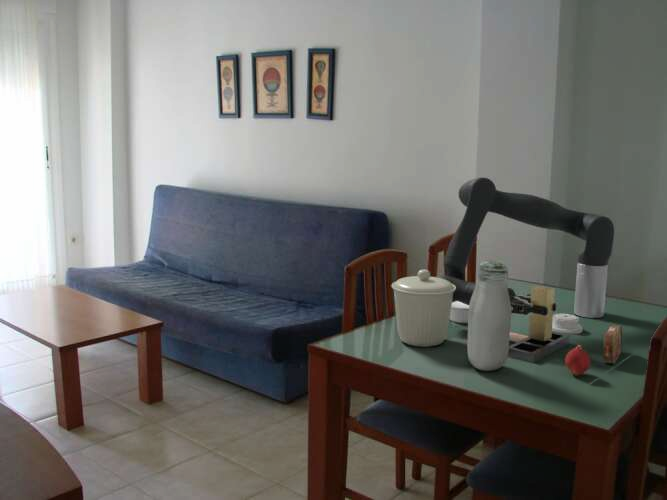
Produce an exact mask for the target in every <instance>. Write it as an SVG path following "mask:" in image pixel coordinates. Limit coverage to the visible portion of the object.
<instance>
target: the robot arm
mask: <svg viewBox="0 0 667 500" xmlns="http://www.w3.org/2000/svg"><path fill="white" fill-rule="evenodd" d="M458 199H459V201H460V202H461V204H462V205H463V206H465V207H466V210H465V213H464V215H463V217H462V219H461V222H460V224H459V225H458V227H457V229H456V230H455V232H454V234H453V237H452V238H451V240H450V242H449V244H448V248H447V250H446V253H445V256H444V259H443V267H444V268H445V270H446V274H445V275H439V276H436V277H437V278H442V279H445V280H447V281H449V282H451V283H452V284H453V285H455V286H456V290H455V291H454V292H453V299H452V302H455V301H459V302H462V303H464V304H466V305H469V304H470V300H471V297H472V294H473V292H474V289H475V285H476V281H475V282H474V281H468V280H467V281H466V280H465V279H466V268H467V266H468V262H469V260H470V256H471V254H472V251H473V247H474V244H475V242H476V239H477V236H478V234H479V231H480V229H481V227H482V224H484V223H483V222H484V220H485V218H486V216H487V214H488V213H492V214H493V213H494V214H497V215H499V216H500V215H501V216H502V217H506V218H508V219H511V220H514V221H518V222H520V223H523V224H527V225H529V226H534V227H537V228H541V229H544V230H545V229H546V230H557V231H561V232H564V233H567V234H569V235H572V236H573V237H574V236H575V237H577V238H578V239H581V240H583V241H584V242H585V247H584V250H583V252H580V253H579V254H578V255H577V266H576V278H575V279H576V280H575V281H576V282H575V289H574V290H575V294H574V306H573V315H575V316H576V315H577V316H579V317H583V318H592V319H597V318H599V319H600V318H602V317H604V314H605V304H606V303H605V302H606V291H607V279H608V270H609V269H608V267H609V259H610V258H611V256H612V252H613V245H614V238H615V225H614V223H613V221H612V220H611V219H610V218H609V217H608V216H604V215H601V214H597V213H588V212H582V211H578V210H572V209H568V208H566V207H564V206H562V205H560V204H559V203H556V202H554V201H551V200H549V199H546V198H543V197H541V196H537V195H534V194H533V195H532V194H528V193H518V192H508V191H507V192H506V191H501V190H497V188H496V185H495V183H494V181H492V180H491V179H490V178H488V177H477V178H473V179H471V180H468V181H466V182H465V183H463V184H462V185H461V186H460V188H459V189H458ZM508 293H509V298H510V304H511V314H517V315H523V316H526V315H530V314H533V313H535V314H540V315H547V314H548V308H547V307H543V306H538V305H533V304H531V293H528V294H526V295H523V294H516V292H515V290H514V289H513V288H511V287H508ZM555 311H557V304H556V303H555V302H554V305H553V313H554V312H555Z"/></svg>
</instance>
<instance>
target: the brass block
mask: <svg viewBox="0 0 667 500" xmlns="http://www.w3.org/2000/svg"><path fill="white" fill-rule="evenodd" d="M555 290H556V289H555V287H551V286H550V287H549V286H544V285H536V286H534V287H532V288H531V289H530V295H531V304H533V305H538V306H543V307H547V308H548V314H547V315H540V314H535V313H533V314H529V326H528V327H529V328H528V336H529V338H532V339H536V340H541V341H546V340H548V339H550V338H551V337H552V332H553V331H552V322H553V315H554V312H553V305H554V303H555Z"/></svg>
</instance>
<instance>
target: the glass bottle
mask: <svg viewBox="0 0 667 500" xmlns="http://www.w3.org/2000/svg"><path fill="white" fill-rule="evenodd" d="M476 277H477V278H476V281H475V283H476V285H475V289H474V292H473V294H472V297H471V300H470V304H469V314H468V323H467V357H468V360H469V362H470V363H471V365H472V366H473V367H474V368H475V369H478V370H480V371H484V372H489V371H490V372H491V371H496V370H498V369H500V368H502V367H503V366H504V364H505V363H506V361H507V359H508V357H509V356H508V350H509V346H510V340H509V335H510V333H511V326H512V325H511V322H512V313H511V304H510V298H509V293H508V288H509V286H508V280H509V279H508V277H509V271H508V268H507V265H506V264H505V263H504V262H502V261H501V260H485V261H483V262H482V263H480V264H479V265H478V268H477V272H476Z"/></svg>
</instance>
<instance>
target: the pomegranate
mask: <svg viewBox="0 0 667 500" xmlns="http://www.w3.org/2000/svg"><path fill="white" fill-rule="evenodd" d="M564 361H565V362H564V363H565V366H566V369H568V370H569V372H570V373H572V374H573V375H574V376H576V377H579V376H581V375H583V374H584V373H586V372H587V371H588V370H589V369H590V367H591V358H590V356H589V354H588V353H587V351H586V350H585V349H584V348H582V345H580V344H578V345H576V347H575V348H572V349H571V350H569V351H568V352H567V353H566V356H565V359H564Z"/></svg>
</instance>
